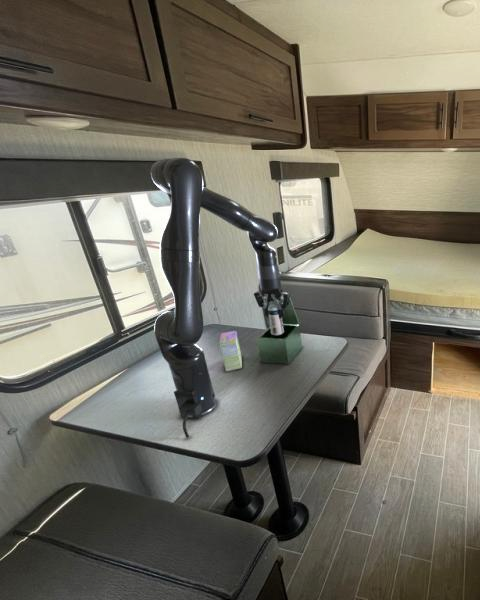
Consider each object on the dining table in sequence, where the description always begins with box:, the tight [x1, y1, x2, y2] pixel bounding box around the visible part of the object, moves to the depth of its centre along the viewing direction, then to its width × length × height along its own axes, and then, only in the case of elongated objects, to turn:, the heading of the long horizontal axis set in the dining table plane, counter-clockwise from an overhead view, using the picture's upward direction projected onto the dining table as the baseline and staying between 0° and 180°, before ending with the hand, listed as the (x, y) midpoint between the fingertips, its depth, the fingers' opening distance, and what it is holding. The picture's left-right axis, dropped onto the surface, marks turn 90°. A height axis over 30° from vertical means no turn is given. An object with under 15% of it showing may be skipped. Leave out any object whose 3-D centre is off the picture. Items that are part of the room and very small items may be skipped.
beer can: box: [268, 304, 284, 336], centre depth 127 cm, size 5×5×12 cm
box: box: [218, 330, 243, 372], centre depth 126 cm, size 10×6×12 cm, turn 25°
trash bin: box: [256, 324, 303, 365], centre depth 132 cm, size 14×12×11 cm
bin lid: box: [262, 296, 300, 325], centre depth 133 cm, size 14×12×5 cm
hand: (275, 316), depth 127 cm, fingers closed on beer can, 4 cm apart
